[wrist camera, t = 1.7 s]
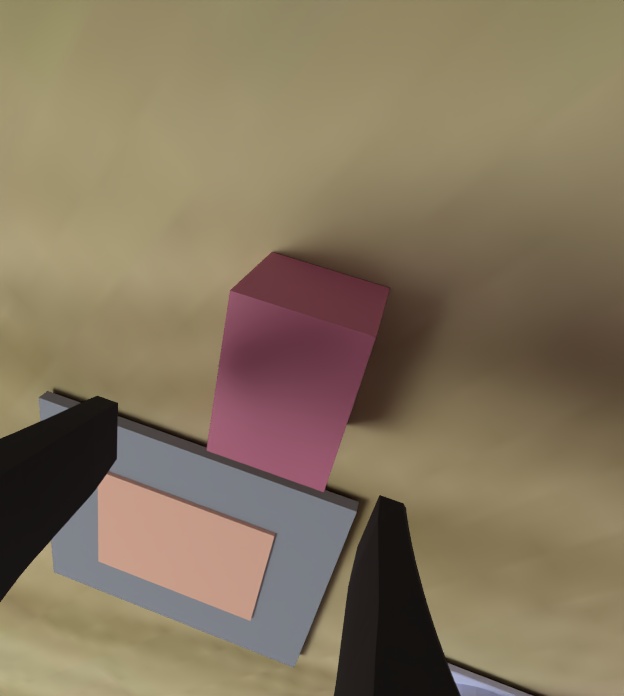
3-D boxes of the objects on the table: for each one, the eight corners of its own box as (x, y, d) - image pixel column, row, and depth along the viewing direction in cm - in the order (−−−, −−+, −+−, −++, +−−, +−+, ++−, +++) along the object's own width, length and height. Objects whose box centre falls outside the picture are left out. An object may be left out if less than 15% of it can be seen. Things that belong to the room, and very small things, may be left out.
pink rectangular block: (389, 288, 17) (376, 337, 14) (344, 425, 20) (323, 492, 17) (271, 251, 18) (230, 290, 14) (245, 391, 21) (206, 450, 17)
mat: (358, 501, 22) (356, 515, 21) (296, 657, 29) (293, 671, 28) (47, 391, 24) (35, 400, 23) (60, 564, 31) (51, 574, 30)
